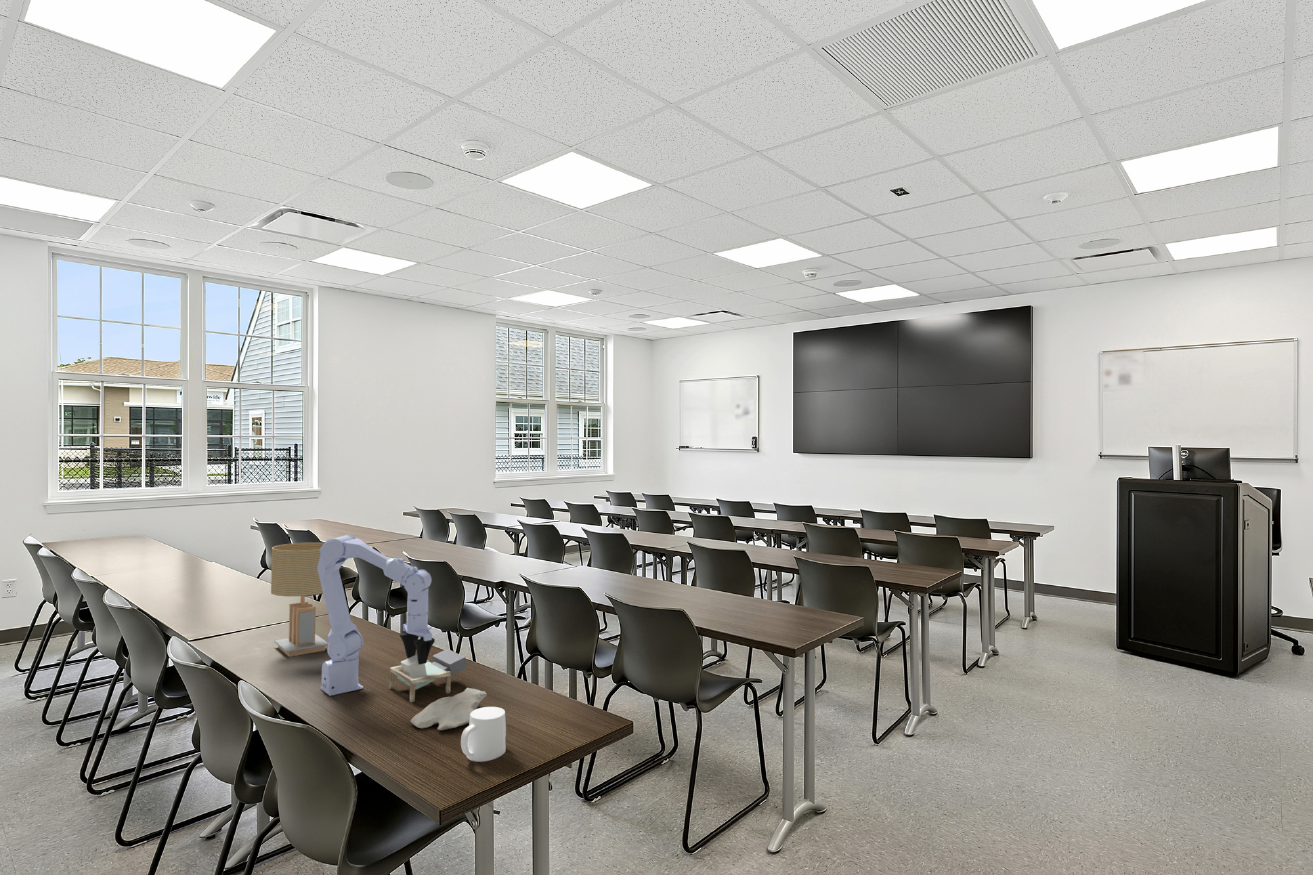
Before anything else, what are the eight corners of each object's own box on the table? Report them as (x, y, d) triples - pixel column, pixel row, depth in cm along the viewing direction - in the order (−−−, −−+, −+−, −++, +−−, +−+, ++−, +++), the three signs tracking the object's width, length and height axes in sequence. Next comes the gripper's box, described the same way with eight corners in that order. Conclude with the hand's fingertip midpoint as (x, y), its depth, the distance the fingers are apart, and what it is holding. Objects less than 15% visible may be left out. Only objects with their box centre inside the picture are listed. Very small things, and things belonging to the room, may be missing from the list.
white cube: (411, 682, 200) (407, 665, 199) (404, 677, 203) (400, 661, 202) (427, 674, 203) (423, 658, 202) (419, 670, 206) (416, 654, 206)
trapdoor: (448, 659, 217) (446, 648, 216) (468, 668, 208) (465, 657, 207) (398, 682, 206) (395, 671, 205) (416, 693, 197) (413, 682, 196)
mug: (491, 703, 170) (514, 710, 166) (490, 741, 170) (514, 750, 166) (451, 718, 160) (475, 726, 156) (450, 759, 160) (474, 769, 156)
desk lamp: (262, 647, 243) (265, 545, 243) (322, 638, 256) (325, 541, 256) (277, 661, 228) (280, 552, 229) (340, 650, 241) (342, 547, 242)
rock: (507, 716, 187) (474, 697, 197) (507, 699, 186) (474, 681, 196) (436, 747, 171) (403, 725, 180) (436, 729, 170) (403, 708, 180)
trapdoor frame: (427, 679, 213) (427, 659, 213) (450, 692, 203) (450, 671, 203) (389, 688, 205) (389, 667, 205) (411, 702, 195) (411, 680, 195)
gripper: (442, 615, 201) (441, 663, 201) (419, 606, 211) (418, 652, 211) (418, 619, 196) (417, 668, 196) (396, 610, 207) (395, 656, 206)
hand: (416, 660), depth 203 cm, fingers open, 7 cm apart
